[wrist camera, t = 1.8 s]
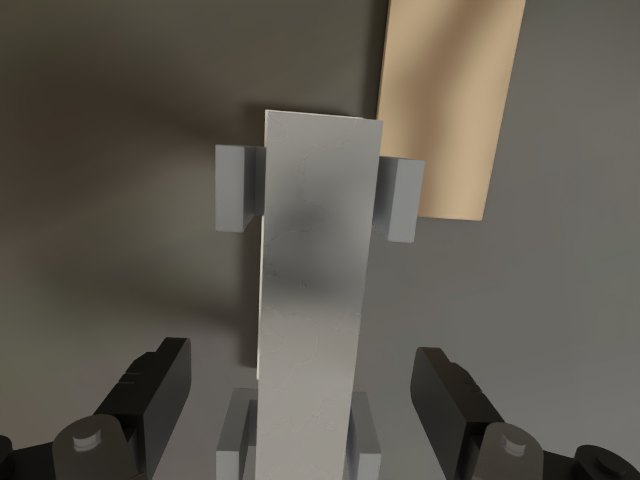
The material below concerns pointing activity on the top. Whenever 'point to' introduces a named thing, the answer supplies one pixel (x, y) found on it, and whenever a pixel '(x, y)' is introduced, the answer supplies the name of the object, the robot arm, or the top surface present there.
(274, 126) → the rail
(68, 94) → the top surface
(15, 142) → the top surface
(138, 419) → the robot arm
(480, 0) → the mat
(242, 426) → the rail stand
